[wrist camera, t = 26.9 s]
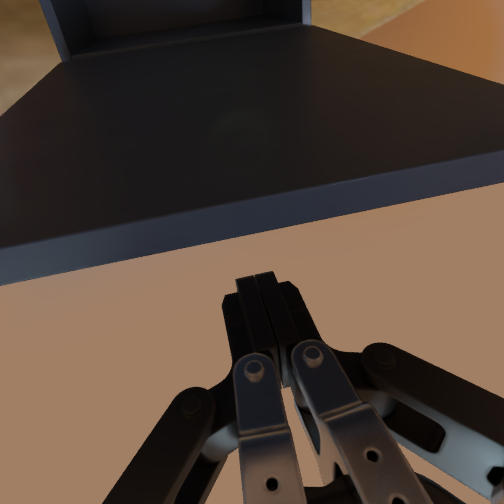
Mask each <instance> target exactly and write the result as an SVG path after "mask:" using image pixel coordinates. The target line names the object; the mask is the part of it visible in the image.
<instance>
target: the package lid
mask: <svg viewBox="0 0 504 504" xmlns="http://www.w3.org/2000/svg"><path fill="white" fill-rule="evenodd" d="M503 182H504V85H502V84H500V83H496V82H493V81H490V80H486V79H484V78H480V77H477V76H474V75H471V74H467V73H464V72H461V71H458V70H455V69H451V68H448V67H445V66H442V65H439V64H436V63H432V62H429V61H426V60H423V59H419V58H416V57H413V56H410V55H406V54H403V53H400V52H397V51H394V50H391V49H388V48H384V47H381V46H378V45H375V44H372V43H368V42H365V41H362V40H359V39H356V38H353V37H349V36H346V35H343V34H340V33H337V32H333V31H330V30H327V29H324V28H321V27H317V26H314V25H312V26H305V27H298V28H291V29H285V30H278V31H271V32H264V33H257V34H251V35H244V36H237V37H230V38H223V39H217V40H210V41H203V42H196V43H189V44H183V45H176V46H169V47H162V48H155V49H149V50H142V51H135V52H128V53H121V54H115V55H108V56H101V57H94V58H87V59H81V60H74V61H67V62H61V63H59V64H58V65H57V66H56V67H55V68H54V69H53V70H52V71H50V72H49V73H48V74H47V75H46V76H45V77H44V78H43V79H41V80H40V81H39V82H38V83H37V84H36V85H35V86H34V87H33V88H31V89H30V90H29V91H28V92H27V93H26V94H25V95H24V96H22V97H21V98H20V99H19V100H18V101H17V102H16V103H15V104H14V105H12V106H11V107H10V108H9V109H8V110H7V111H6V112H5V113H4V114H2V115H1V116H0V286H2V285H6V284H11V283H16V282H21V281H26V280H31V279H36V278H40V277H45V276H50V275H55V274H59V273H65V272H69V271H75V270H79V269H84V268H89V267H94V266H99V265H104V264H109V263H113V262H118V261H123V260H128V259H133V258H138V257H143V256H148V255H152V254H157V253H162V252H167V251H172V250H177V249H182V248H186V247H191V246H196V245H201V244H206V243H211V242H216V241H221V240H225V239H230V238H235V237H239V236H245V235H250V234H255V233H260V232H264V231H269V230H274V229H279V228H284V227H288V226H293V225H298V224H303V223H308V222H313V221H318V220H323V219H328V218H333V217H337V216H342V215H347V214H352V213H357V212H361V211H367V210H371V209H376V208H381V207H386V206H391V205H396V204H401V203H405V202H410V201H415V200H420V199H425V198H430V197H435V196H440V195H445V194H449V193H454V192H459V191H464V190H468V189H474V188H479V187H483V186H488V185H493V184H498V183H503Z"/></svg>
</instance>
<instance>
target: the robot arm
mask: <svg viewBox="0 0 504 504" xmlns="http://www.w3.org/2000/svg"><path fill="white" fill-rule="evenodd" d="M235 280H236V286H237V292H236V293H232V294H227V295H225V297H224V300H223V303H222V310H223V315H224V319H225V325H226V330H227V335H228V341H229V346H230V351H231V356H232V367H231V370H230V372H229V374H228V375H227V377H226V378H225V379H224V380H223V381H222V382H220V383H219V384H217V385H215V386H214V387H212V388H210V389H209V390H207V389H205V388H201V387H191V388H188V389H185V390H184V391H182V392H180V393H179V394H178V395H177V396H176V397H175V398H174V400H173V401H172V402H171V404H170V405H169V407H168V409H167V410H166V411H165V413H164V414H163V416H162V417H161V418H160V420H159V421H158V423H157V424H156V426H155V427H154V429H153V430H152V432H151V433H150V435H149V436H148V437H147V439H146V440H145V442H144V443H143V445H142V446H141V448H140V449H139V450H138V452H137V453H136V455H135V456H134V458H133V459H132V461H131V462H130V464H129V465H128V466H127V468H126V470H125V471H124V472H123V474H122V475H121V477H120V478H119V480H118V481H117V482H116V484H115V485H114V487H113V489H112V490H111V491H110V493H109V494H108V496H107V497H106V499H105V500H104V502H103V503H102V504H204V503H205V501H206V500H207V498H208V496H209V494H210V492H211V490H212V487H213V485H214V483H215V482H216V480H217V478H218V476H219V474H220V472H221V470H222V468H223V466H224V464H225V462H226V459H227V457H228V454H230V453H231V452H233V451H234V450H236V449H237V448H239V460H240V470H241V480H242V490H243V500H244V504H466V503H464V502H463V501H461V500H460V499H458V498H457V497H455V496H454V495H453V494H451V493H450V492H448V491H447V490H445V489H444V488H443V487H441V486H440V485H438V484H437V483H435V482H434V481H432V480H430V479H429V478H426V477H425V476H423V475H420V474H418V473H416V472H414V471H413V469H412V467H411V466H410V464H409V462H408V461H407V459H406V458H405V456H404V454H403V453H402V451H401V449H400V448H399V446H398V444H397V443H399V444H401V445H402V446H404V447H405V448H407V449H409V450H410V451H412V452H414V453H415V454H417V455H418V456H420V457H421V458H423V459H424V460H426V461H428V462H429V463H431V464H432V465H434V466H436V467H437V468H439V469H440V470H442V471H443V472H445V473H447V474H448V475H450V476H451V477H453V478H455V479H456V480H458V481H459V482H461V483H463V484H464V485H466V486H468V487H469V488H471V489H472V490H474V491H476V492H477V493H479V494H480V495H482V496H483V497H485V498H486V499H488V500H490V501H491V504H504V398H502V397H500V396H498V395H496V394H493V393H491V392H489V391H487V390H485V389H483V388H481V387H479V386H477V385H475V384H473V383H470V382H468V381H466V380H464V379H462V378H460V377H458V376H456V375H454V374H452V373H450V372H447V371H445V370H443V369H441V368H439V367H437V366H434V365H433V364H431V363H428V362H426V361H424V360H422V359H420V358H418V357H416V356H414V355H412V354H410V353H408V352H406V351H403V350H401V349H399V348H397V347H395V346H393V345H390V344H387V343H373V344H370V345H368V346H367V347H366V348H365V349H364V350H363V352H362V353H358V352H343V351H338V350H335V349H333V348H331V347H329V346H328V345H327V344H326V343H325V342H324V341H323V340H322V338H321V337H320V334H319V332H318V330H317V328H316V326H315V324H314V322H313V320H312V317H311V315H310V313H309V311H308V309H307V308H306V305H305V303H304V301H303V299H302V296H301V294H300V292H299V290H298V288H297V287H295V286H294V285H293V284H292V283H291V282H289V281H286V282H281V283H278V282H277V279H276V277H275V274H274V272H273V271H270V272H265V273H261V274H256V275H255V278H254V276H253V275H252V276H247V277H243V278H238V279H235ZM281 382H282V385H283V388H286V387H291V390H292V393H293V396H294V405H295V409H296V411H297V414H298V416H299V418H300V421H301V423H302V426H303V428H304V431H305V433H306V436H307V438H308V440H309V443H310V445H311V448H312V450H313V452H314V455H315V457H316V460H317V463H318V466H319V471H320V474H321V478H322V481H323V484H324V486H323V487H303V483H302V478H301V473H300V469H299V464H298V460H297V455H296V451H295V446H294V442H293V437H292V433H291V429H290V427H289V425H288V421H287V417H286V412H285V407H284V403H283V398H282V394H281V388H282V387H281ZM396 442H397V443H396Z"/></svg>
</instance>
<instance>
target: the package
mask: <svg viewBox="0 0 504 504" xmlns="http://www.w3.org/2000/svg"><path fill="white" fill-rule="evenodd" d="M39 2H40V5H41V7H42V10H43V12H44V15H45V18H46V20H47V23H48V26H49V28H50V31H51V34H52V36H53V39H54V41H55V44H56V47H57V49H58V52H59V55H60V57H61V60H62V62H67V61H74V60H81V59H87V58H94V57H101V56H108V55H115V54H121V53H128V52H135V51H142V50H149V49H155V48H162V47H169V46H176V45H183V44H189V43H196V42H203V41H210V40H217V39H223V38H230V37H237V36H244V35H251V34H257V33H264V32H271V31H278V30H285V29H291V28H298V27H305V26H311V0H39Z"/></svg>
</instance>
